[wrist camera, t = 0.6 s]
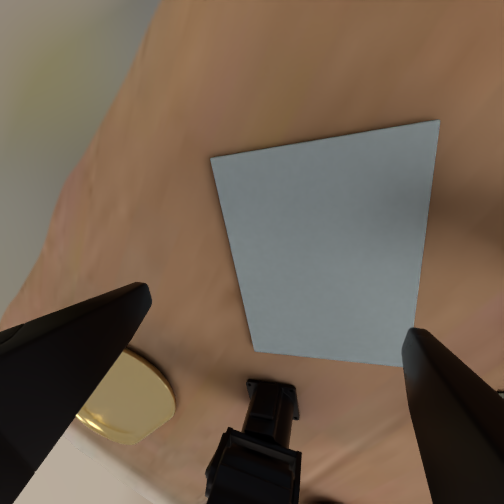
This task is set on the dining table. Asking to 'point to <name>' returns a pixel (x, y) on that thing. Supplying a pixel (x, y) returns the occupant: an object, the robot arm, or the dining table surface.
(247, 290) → the mat
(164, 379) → the serving platter
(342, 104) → the dining table surface
